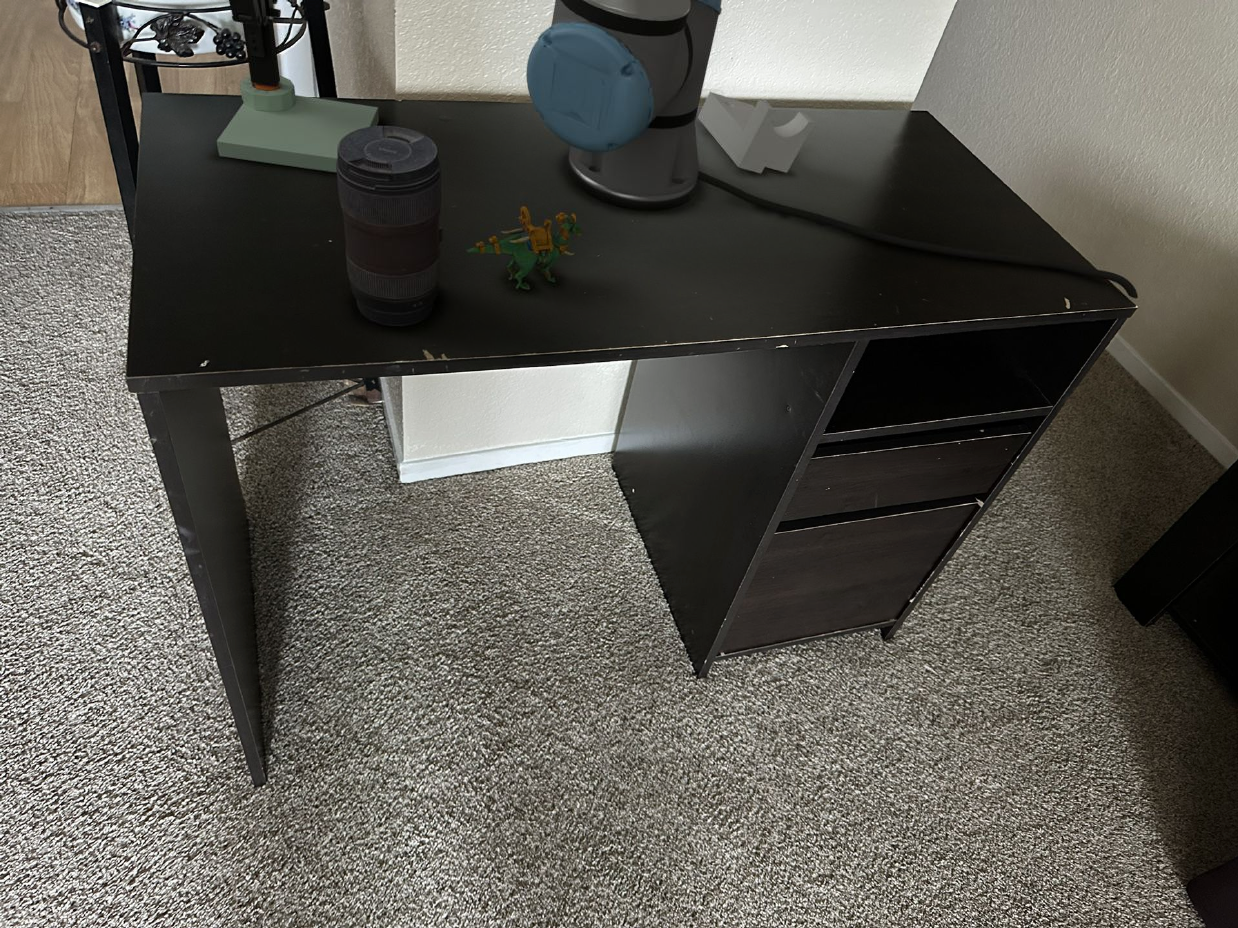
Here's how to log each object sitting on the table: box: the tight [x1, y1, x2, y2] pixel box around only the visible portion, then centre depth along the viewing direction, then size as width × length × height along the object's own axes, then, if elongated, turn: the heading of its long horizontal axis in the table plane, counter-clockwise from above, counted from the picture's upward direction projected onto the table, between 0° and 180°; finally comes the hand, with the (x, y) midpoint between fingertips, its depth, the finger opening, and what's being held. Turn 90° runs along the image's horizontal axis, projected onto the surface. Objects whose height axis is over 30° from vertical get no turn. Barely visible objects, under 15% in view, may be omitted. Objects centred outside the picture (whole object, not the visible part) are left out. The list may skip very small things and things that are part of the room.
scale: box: [216, 75, 380, 174], centre depth 95 cm, size 14×13×4 cm
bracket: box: [697, 91, 815, 174], centre depth 109 cm, size 13×7×8 cm, turn 19°
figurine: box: [466, 205, 582, 290], centre depth 81 cm, size 3×12×8 cm, turn 122°
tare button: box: [255, 83, 280, 91], centre depth 97 cm, size 3×3×2 cm
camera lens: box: [336, 125, 444, 327], centre depth 73 cm, size 8×8×15 cm
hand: (265, 81), depth 96 cm, fingers closed
